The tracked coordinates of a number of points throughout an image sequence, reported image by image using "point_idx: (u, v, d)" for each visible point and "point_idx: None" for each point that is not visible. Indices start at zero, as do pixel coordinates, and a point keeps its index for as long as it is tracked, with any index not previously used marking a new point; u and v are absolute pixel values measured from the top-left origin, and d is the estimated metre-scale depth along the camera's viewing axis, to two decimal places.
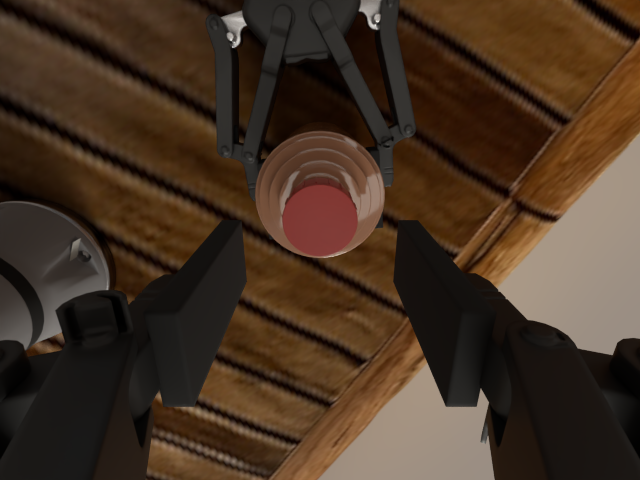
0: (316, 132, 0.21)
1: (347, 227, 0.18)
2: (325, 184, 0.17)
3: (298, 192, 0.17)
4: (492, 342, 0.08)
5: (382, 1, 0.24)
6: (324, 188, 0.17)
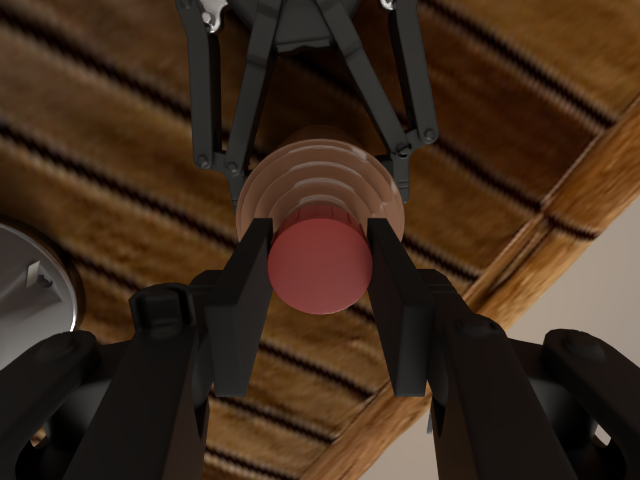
0: (315, 140, 0.16)
1: (358, 276, 0.13)
2: (327, 217, 0.12)
3: (289, 229, 0.12)
4: (434, 334, 0.08)
5: None
6: (326, 223, 0.12)
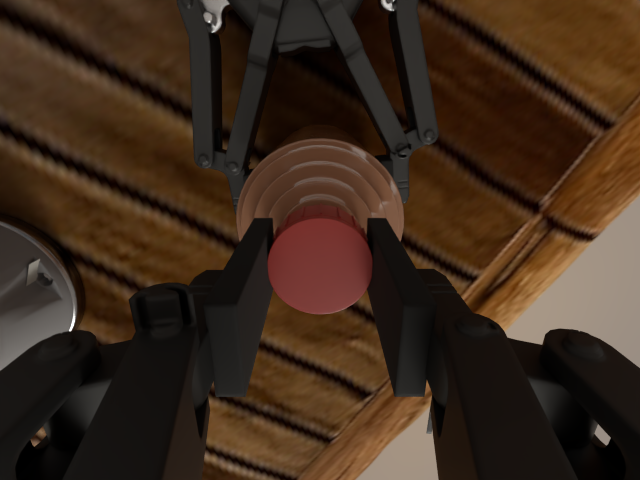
0: (315, 140, 0.16)
1: (311, 232, 0.12)
2: None
3: (294, 306, 0.13)
4: (434, 334, 0.08)
5: None
6: (274, 280, 0.13)
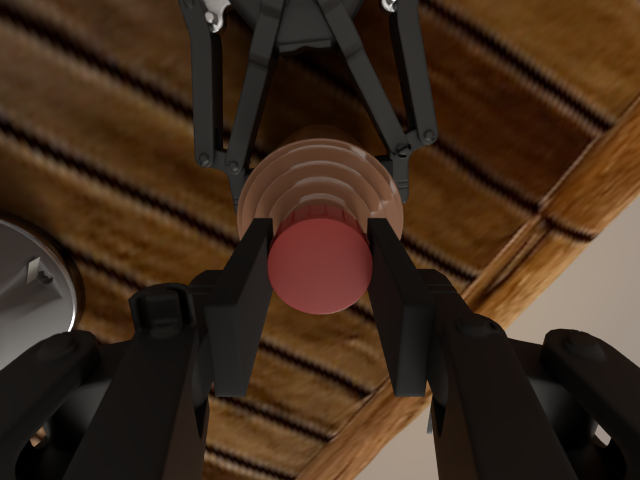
0: (316, 140, 0.16)
1: (288, 288, 0.13)
2: None
3: (370, 275, 0.13)
4: (434, 334, 0.08)
5: None
6: (349, 301, 0.13)
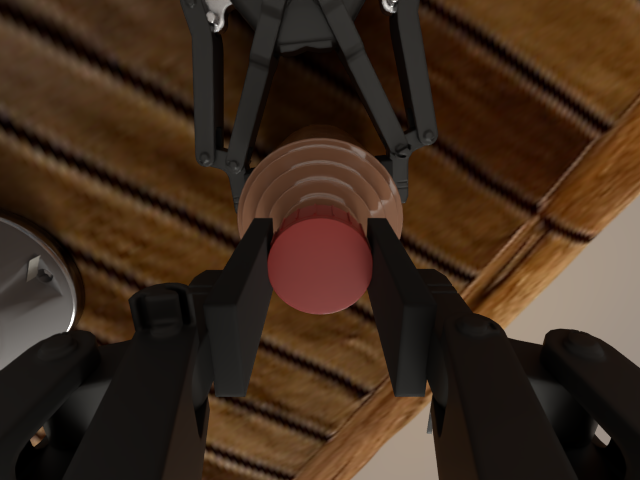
0: (316, 139, 0.16)
1: (353, 287, 0.13)
2: (345, 223, 0.12)
3: (306, 221, 0.12)
4: (433, 334, 0.08)
5: None
6: (343, 228, 0.12)
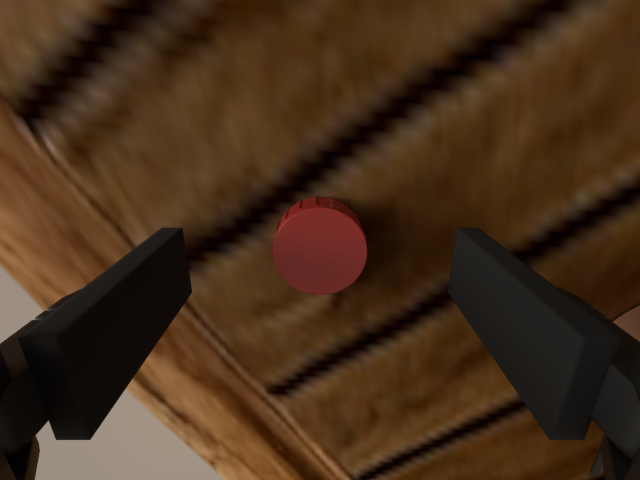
0: None
1: (349, 270, 0.14)
2: (342, 212, 0.14)
3: (307, 210, 0.13)
4: (616, 372, 0.07)
5: None
6: (340, 217, 0.13)
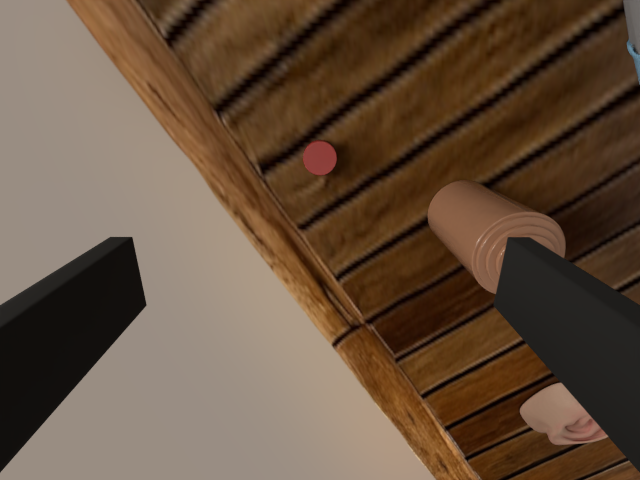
0: None
1: (330, 165, 0.40)
2: (327, 143, 0.40)
3: (315, 142, 0.39)
4: None
5: None
6: (326, 144, 0.39)
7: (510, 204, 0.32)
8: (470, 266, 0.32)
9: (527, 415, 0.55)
